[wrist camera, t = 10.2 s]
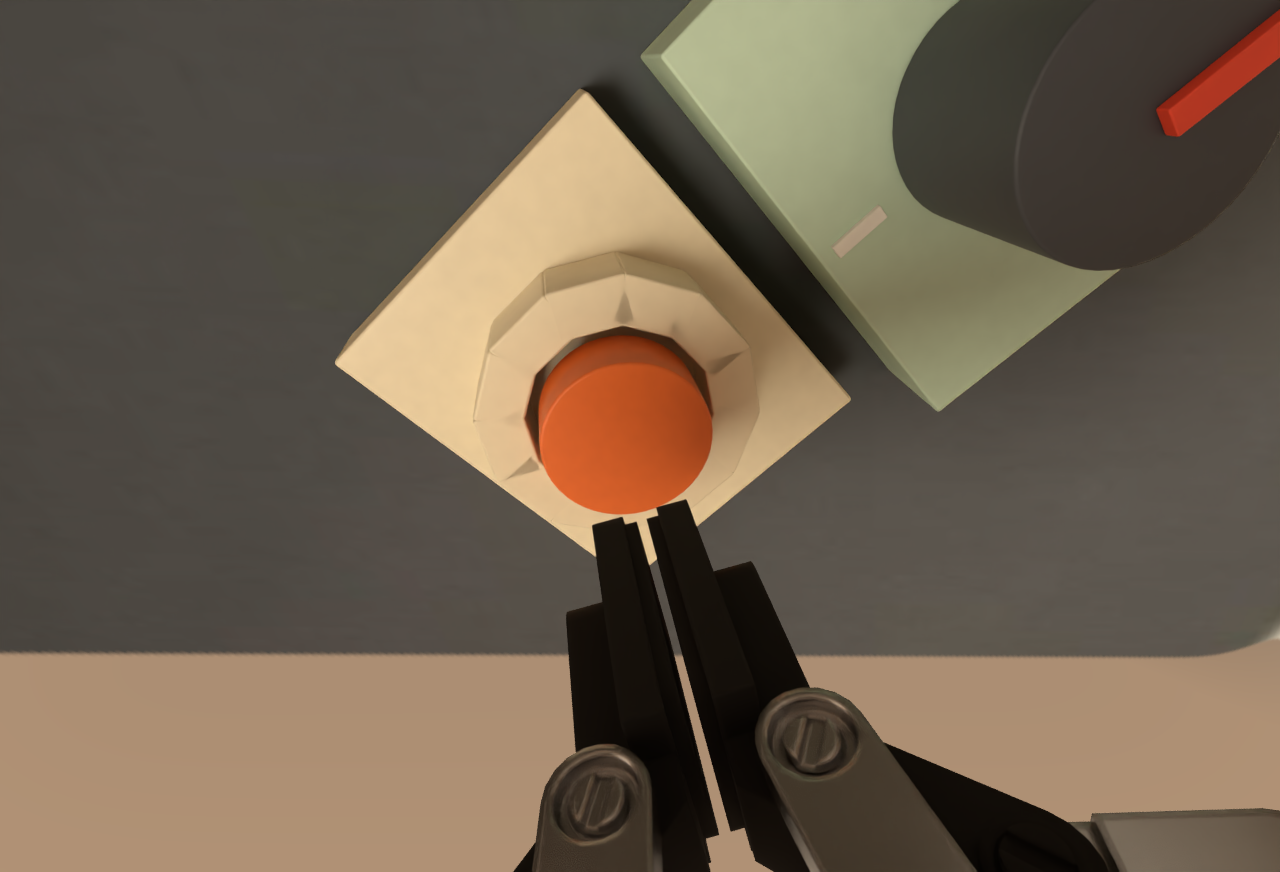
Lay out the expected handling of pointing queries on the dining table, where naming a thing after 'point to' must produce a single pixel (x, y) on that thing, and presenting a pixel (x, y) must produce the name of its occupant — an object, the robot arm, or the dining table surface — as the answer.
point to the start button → (623, 425)
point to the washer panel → (857, 180)
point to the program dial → (1090, 120)
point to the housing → (585, 321)
